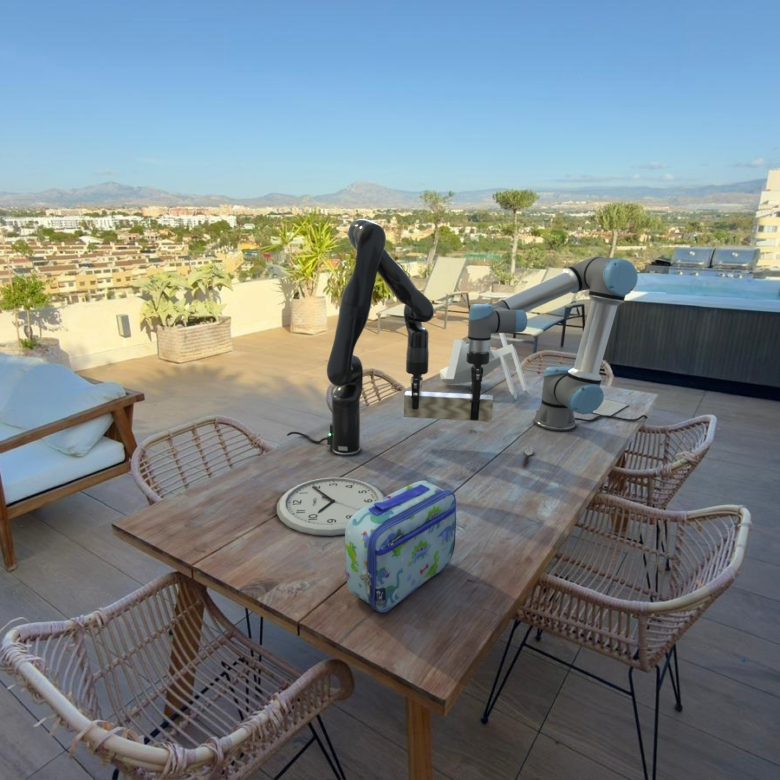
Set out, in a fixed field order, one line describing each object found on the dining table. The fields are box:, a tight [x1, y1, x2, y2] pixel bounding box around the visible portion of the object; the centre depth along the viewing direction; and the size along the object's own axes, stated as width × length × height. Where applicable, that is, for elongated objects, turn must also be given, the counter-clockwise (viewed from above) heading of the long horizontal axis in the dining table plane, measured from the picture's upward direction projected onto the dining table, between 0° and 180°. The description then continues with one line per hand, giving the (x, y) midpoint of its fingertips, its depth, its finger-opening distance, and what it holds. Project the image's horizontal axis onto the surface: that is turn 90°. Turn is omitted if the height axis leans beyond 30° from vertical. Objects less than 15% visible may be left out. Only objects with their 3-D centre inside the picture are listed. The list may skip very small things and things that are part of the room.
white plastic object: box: [438, 333, 531, 400], centre depth 245 cm, size 37×45×31 cm
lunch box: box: [344, 480, 457, 614], centre depth 109 cm, size 26×11×21 cm, turn 135°
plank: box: [403, 390, 494, 423], centre depth 181 cm, size 30×5×8 cm, turn 83°
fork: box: [523, 444, 534, 468], centre depth 173 cm, size 3×16×2 cm, turn 160°
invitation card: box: [592, 398, 629, 416], centre depth 226 cm, size 21×1×15 cm
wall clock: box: [276, 476, 386, 537], centre depth 142 cm, size 30×2×30 cm
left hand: (415, 406), depth 182 cm, fingers closed on plank, 5 cm apart
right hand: (474, 416), depth 181 cm, fingers closed on plank, 5 cm apart
